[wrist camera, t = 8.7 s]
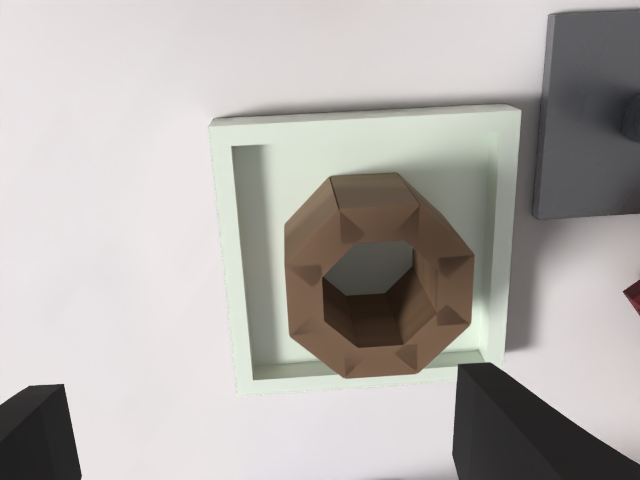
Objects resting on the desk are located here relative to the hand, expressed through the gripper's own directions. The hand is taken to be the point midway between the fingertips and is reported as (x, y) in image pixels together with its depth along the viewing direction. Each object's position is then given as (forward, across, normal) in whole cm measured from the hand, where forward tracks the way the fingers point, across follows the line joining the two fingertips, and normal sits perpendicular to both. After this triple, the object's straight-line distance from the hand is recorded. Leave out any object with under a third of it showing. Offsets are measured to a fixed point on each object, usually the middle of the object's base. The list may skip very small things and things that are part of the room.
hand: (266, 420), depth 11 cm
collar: (+9, -3, 0) cm, 10 cm away
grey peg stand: (+10, -12, -4) cm, 16 cm away
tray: (+10, -3, 0) cm, 10 cm away
